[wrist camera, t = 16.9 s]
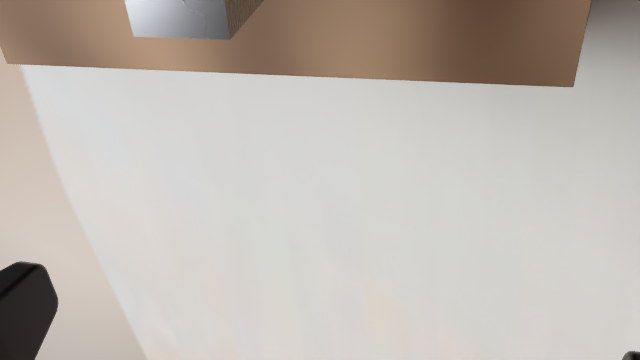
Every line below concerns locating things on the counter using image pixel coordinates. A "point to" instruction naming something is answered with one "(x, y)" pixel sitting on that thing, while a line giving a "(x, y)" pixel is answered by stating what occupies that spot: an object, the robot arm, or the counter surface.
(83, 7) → the wood-grain brown block
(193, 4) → the grey rectangular bar
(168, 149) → the counter surface
